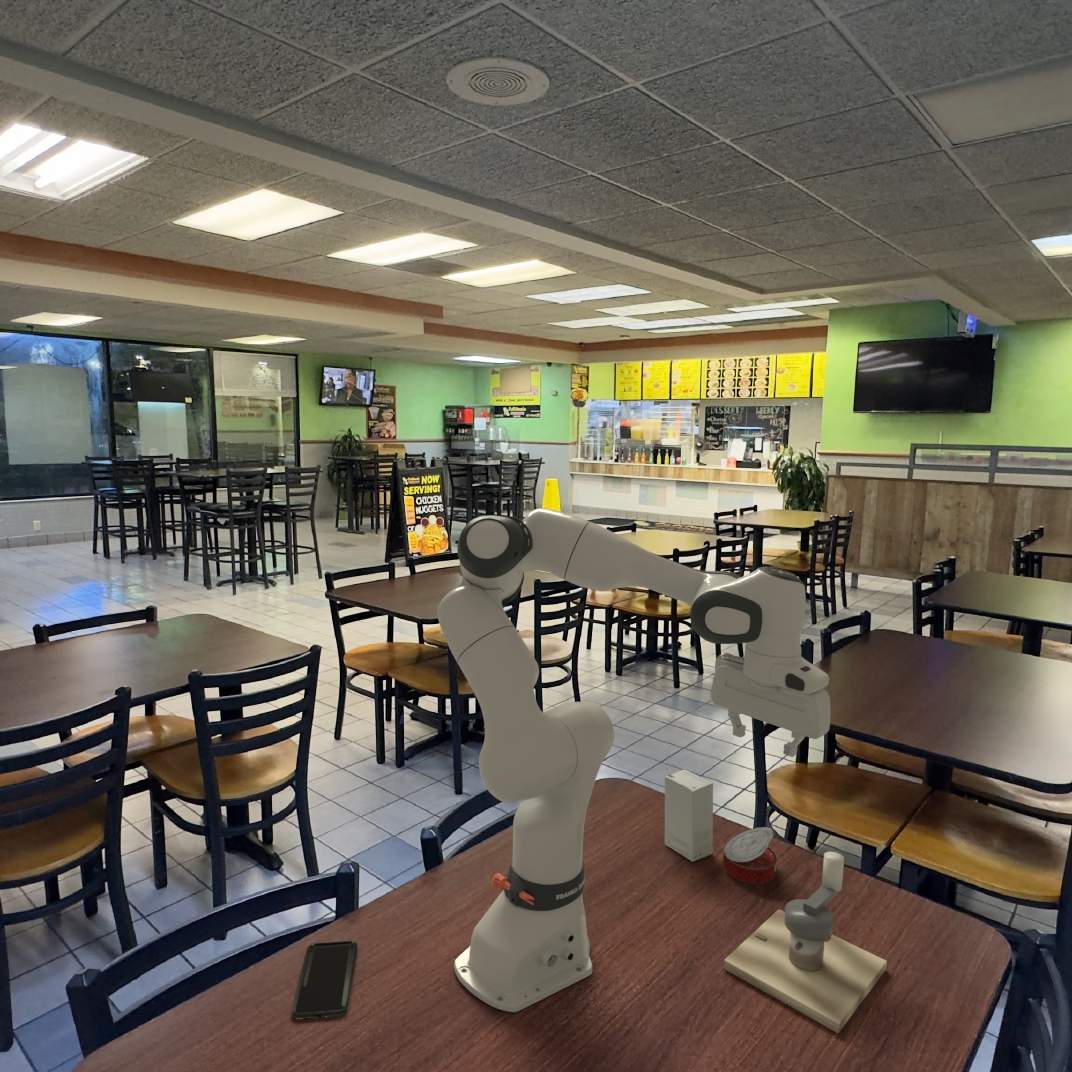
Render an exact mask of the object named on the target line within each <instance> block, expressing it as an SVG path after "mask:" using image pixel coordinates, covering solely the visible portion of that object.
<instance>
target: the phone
mask: <svg viewBox="0 0 1072 1072" xmlns="http://www.w3.org/2000/svg"><path fill="white" fill-rule="evenodd" d="M357 955H358V943H357V942H356V941H354V940H347V941H344V940H343V941H331V942H317V943H316V942H315V943H312V944H310V945H308V947H307V948H306V952H305V954H304V960H303V965H302V968H301V973H300V976H299V979H298V983H297V987H296V988H297V989H296V993H295V995H294V1000H293V1004H292V1008H291V1016H293V1017H294V1018H308V1017H309V1018H312V1019H315V1018H314V1017H315V1016H316V1017H319V1016H321V1017H325V1016H327V1017H325V1018H335V1016H337V1017H342V1016H345V1015H346V1014H347V1013H348V1011H349V1007H350V1000H351V995H352V987H353V981H354V975H355V967H356V961H357ZM329 1016H330V1017H329ZM332 1016H334V1017H332ZM293 1017H292V1018H293ZM294 1018H293V1019H294Z"/></svg>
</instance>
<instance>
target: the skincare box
mask: <svg viewBox="0 0 1072 1072" xmlns="http://www.w3.org/2000/svg"><path fill="white" fill-rule="evenodd" d="M713 827H714V783H713V782H712V781H709V780H707V779H705V778H703V777H701V776H698V775H696V774H694V773H692V772H691V771H689V770H686V769H683V770H680V771H677V772H673V773H671V774H668V775H666V776H664V845H665V846H666V847H668V848H671V849H672V850H673V851H675V852H676V853H678V854H679V855H681V856H682V857H684V858H686V859H687V860H689V861H690V862H696V861H698V860H700V859H703V858H706V857H708V856H711V855H713V852H714V850H713V847H714V846H713V843H714V828H713Z"/></svg>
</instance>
